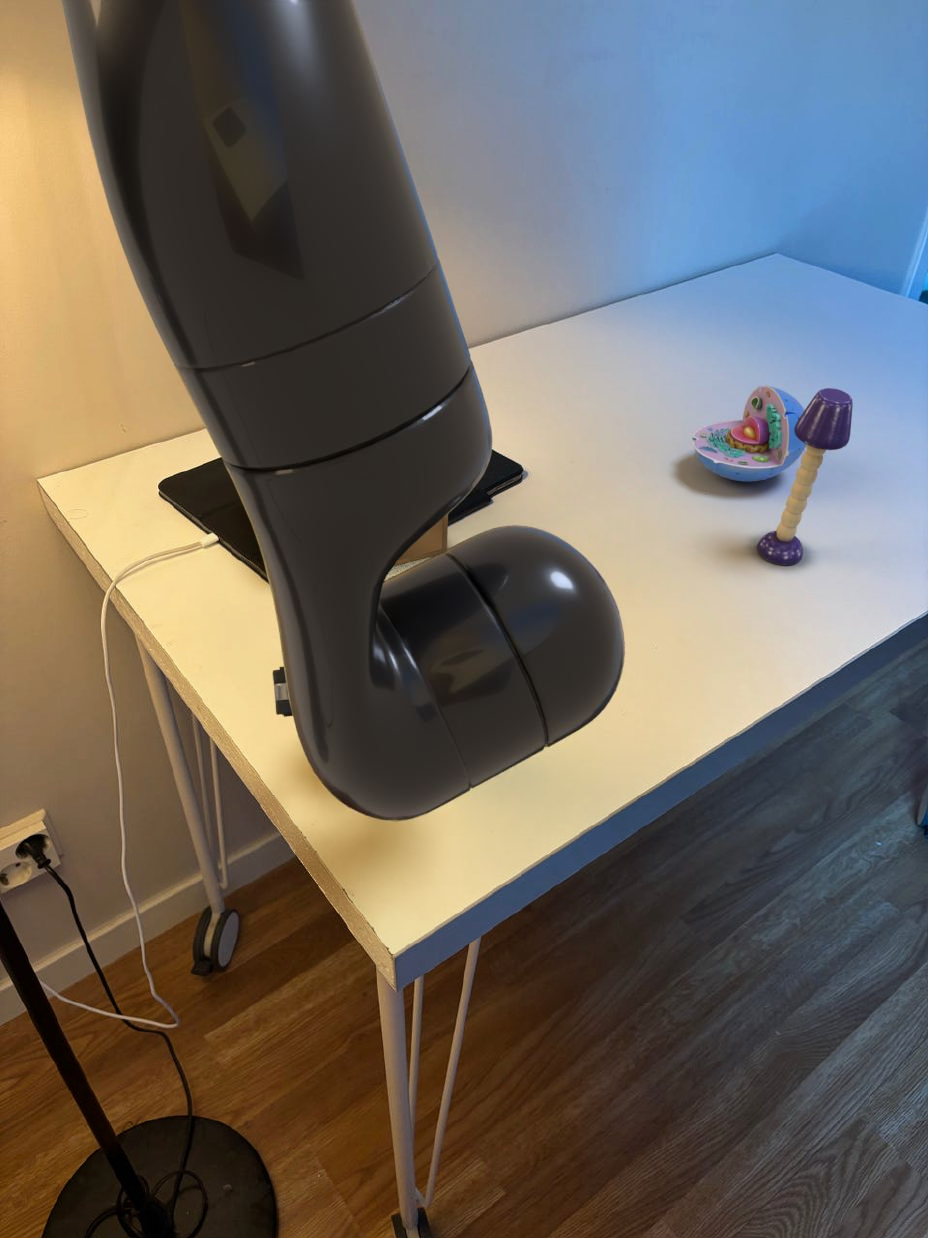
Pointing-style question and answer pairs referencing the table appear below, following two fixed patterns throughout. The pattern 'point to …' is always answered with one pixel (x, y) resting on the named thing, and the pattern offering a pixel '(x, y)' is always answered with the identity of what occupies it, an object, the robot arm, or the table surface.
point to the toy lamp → (809, 468)
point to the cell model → (753, 438)
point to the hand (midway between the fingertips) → (389, 681)
